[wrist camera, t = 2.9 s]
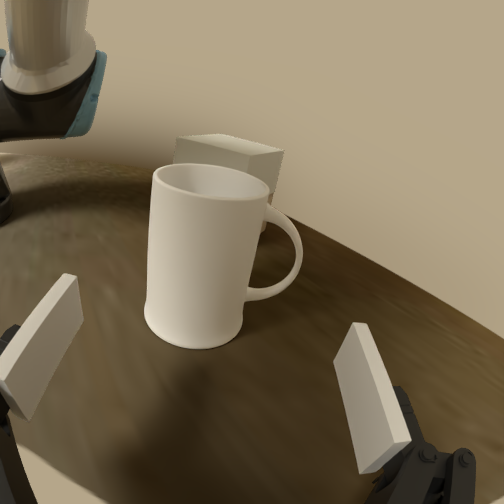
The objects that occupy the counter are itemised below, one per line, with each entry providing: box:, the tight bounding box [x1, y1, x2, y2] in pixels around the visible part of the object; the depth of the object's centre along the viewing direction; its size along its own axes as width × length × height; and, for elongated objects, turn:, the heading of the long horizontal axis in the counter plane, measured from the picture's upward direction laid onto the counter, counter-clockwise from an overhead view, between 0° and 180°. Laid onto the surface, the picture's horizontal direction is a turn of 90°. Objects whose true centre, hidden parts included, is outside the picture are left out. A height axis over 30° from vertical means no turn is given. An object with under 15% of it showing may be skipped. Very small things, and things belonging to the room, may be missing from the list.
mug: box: [144, 163, 303, 349], centre depth 24 cm, size 12×8×12 cm
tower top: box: [173, 134, 284, 194], centre depth 39 cm, size 10×10×6 cm
